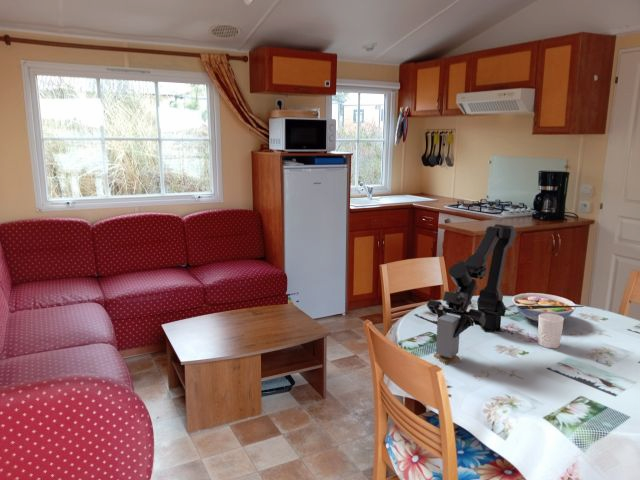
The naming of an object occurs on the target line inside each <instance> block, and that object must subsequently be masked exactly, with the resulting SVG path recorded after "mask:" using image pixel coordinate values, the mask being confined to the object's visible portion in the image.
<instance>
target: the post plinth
mask: <svg viewBox="0 0 640 480" xmlns="http://www.w3.org/2000/svg"><path fill="white" fill-rule="evenodd" d="M433 357H435V358H436V360H438V359H439V360H438V361H440V362H441V361H442V362H443V363H442V362H441V363H442V364H444V363H446V364H451V363H450V362H452V363H457V362H456V361H458V362H461V357H459V356H458V355H457V354H456V355H454V356H453V357H451V358H449V357H446V356H443V355H440V354H436V352H434V353H433Z"/></svg>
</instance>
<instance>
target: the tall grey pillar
mask: <svg viewBox="0 0 640 480" xmlns="http://www.w3.org/2000/svg"><path fill="white" fill-rule="evenodd" d="M436 321H437V322H436V323H437V327H436V345H435V346H436V347H435V348H436V350H435V353H436V354H440V355H443V356H446V357H449V358H451V357H453V356H454V355H457V354H458V353H459V351H460V350H459V347H460V346H459V345H460V334H459V335H458V336H457V337H456V338H454V337H453V335H454V332H455V330H456V328H457V326H458V323H459V321H460V316H459V317H458V316H456V315H452V314H448V313H446V314H445V315H443V316H441V317H439V318H438V317H437V320H436Z"/></svg>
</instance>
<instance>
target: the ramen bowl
mask: <svg viewBox="0 0 640 480" xmlns="http://www.w3.org/2000/svg"><path fill="white" fill-rule="evenodd" d="M511 300H512V302H513V304H514V306H515V308H516V309H517V310H518V312H519V314H521V315H522V316H524V317H526V318H528V319H530V320H532V321H533V322H537V323H538V321H539V315H540V314H543V313H551V314H556V315H559V316H562V317H563V318H564V320H565V319H567V318H568V317H570V316H571V315H572V314H573V313H574V311H575V310H576V308H583V307H585V306H584V305H576V304H575V303H574V302H573V301H572V300H570V299H568V298H565V297H562V296H558V295H554V294H549V293H547V294H546V293H540V292H539V293H536V292H526V293H519V294H516V295H514V296H513V297H512V299H511Z"/></svg>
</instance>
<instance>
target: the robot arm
mask: <svg viewBox="0 0 640 480" xmlns="http://www.w3.org/2000/svg"><path fill="white" fill-rule="evenodd" d="M516 237H517V229H516V228H515V227H514V226H513V225H510V224H509V225H507V224H499V223H496V224H495V225H494V226H493V225H489V226H486V227H485V234H484V236H483V237H482V239H481V240H480V243H479V244H478V246H477V248H476V249H475V252H474V253H473V254H471V255H470V256H468V257H467V258H466V259H465V260H464V261H463V260H459V261H458V262H457V263H454V264H453V265H451V266H450V267H449V269H448V273H449V276H450V277H451V280H452V281H453V283H454V284H455V285H456V288H455V290H453V291H452V292H451V291H446V290H445V291H444V294H443V296H442V301H443V302H445V304H446V305H447V306H445V305H443V303H442V302H441V301H439V300H436V299H432V298H431V299H429V300H428V302H427V303H426V308H427V309H428V310H429V312H430V313H432V314H433V315H437V319H438V318H439V317H441V316H443V315H445V314H449V315H453V316H457V317H458V316H459V318H460V321H459V323H458V326H457V328H456V330H455V332H454V335H453V337H454V338H456V337H457V336H458V335H459V336H460V335H461V334H462V333H463V332H465V331H466V330H467V329H468V328H470V327H474V325H475V326H476V325H477V326H479V327H480V328H481V329H482V330H483V331H484V332H503V329H502V327H501V324H502V323H501V322H502V317H505V316H506V312H507V311H506V309H507V308H506V305H505V303H504V301H503V299H504V295H503V293H502V291H501V290H502V289H501V283H502V278H503V273H504V268H505V263H506V257H507V252H508V249H509V248H511V247H512V245H513V244H514V240H515V239H516ZM490 257H491V260H490V266H489V270H488V265H487V262H488V260H489V258H490ZM487 272H488V275H487ZM486 276H487V280H486V286H485V287H484V288H482V289H480V290H479V296H478V298H477V302H476V303H477V309H473V308H470V309H469V310H468V308H469V306H471V305H472V303H473V302H472V298H473V296H474V293H475V291H477V290H478V288H479V287H478V284H477V281H476V280H482V279H484V278H485V277H486ZM475 279H476V280H475ZM467 310H468V311H467Z"/></svg>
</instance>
